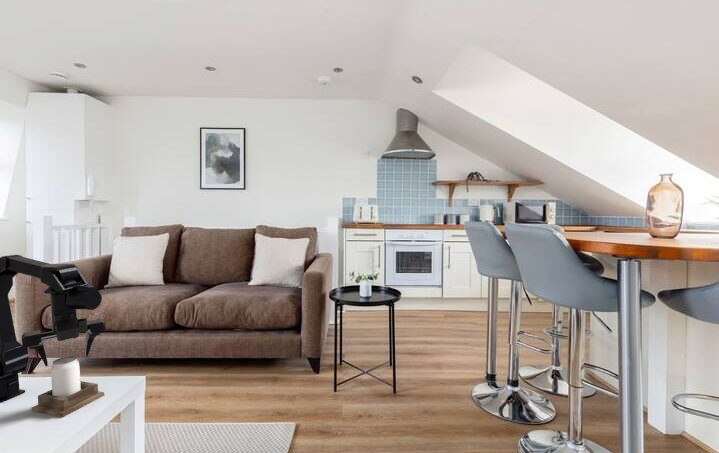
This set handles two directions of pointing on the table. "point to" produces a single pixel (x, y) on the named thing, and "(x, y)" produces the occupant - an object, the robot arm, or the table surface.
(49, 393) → the socket
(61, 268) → the robot arm
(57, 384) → the can
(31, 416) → the table surface
